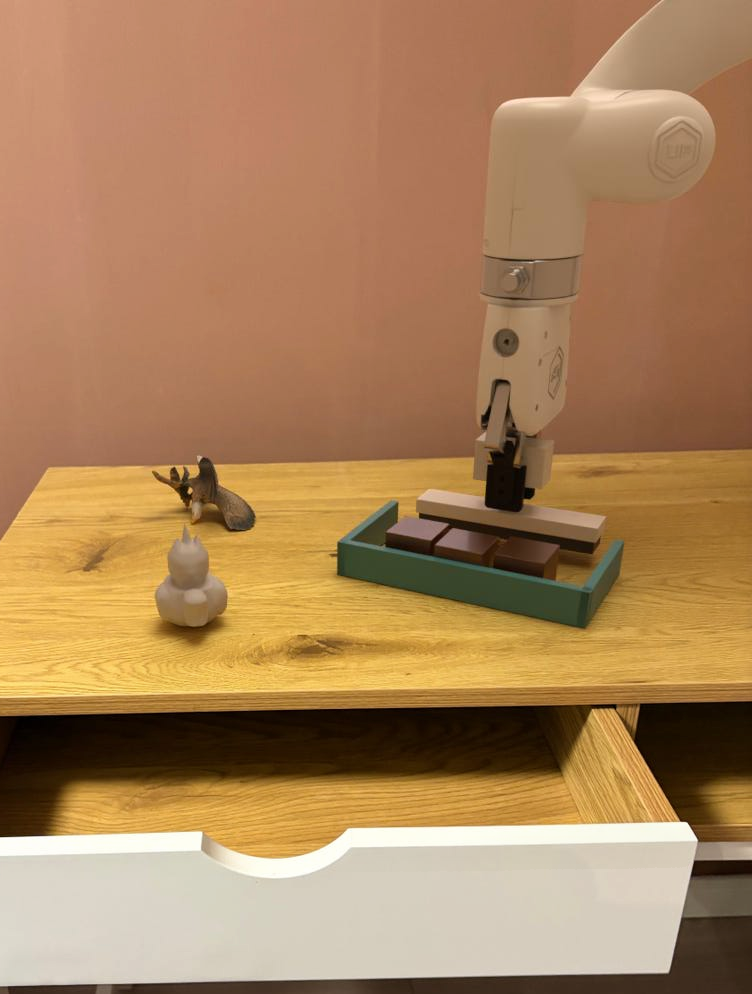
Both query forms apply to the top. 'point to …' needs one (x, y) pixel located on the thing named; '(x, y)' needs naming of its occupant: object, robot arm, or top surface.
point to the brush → (529, 523)
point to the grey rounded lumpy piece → (190, 585)
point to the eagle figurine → (209, 495)
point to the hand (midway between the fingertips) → (509, 500)
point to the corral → (472, 576)
